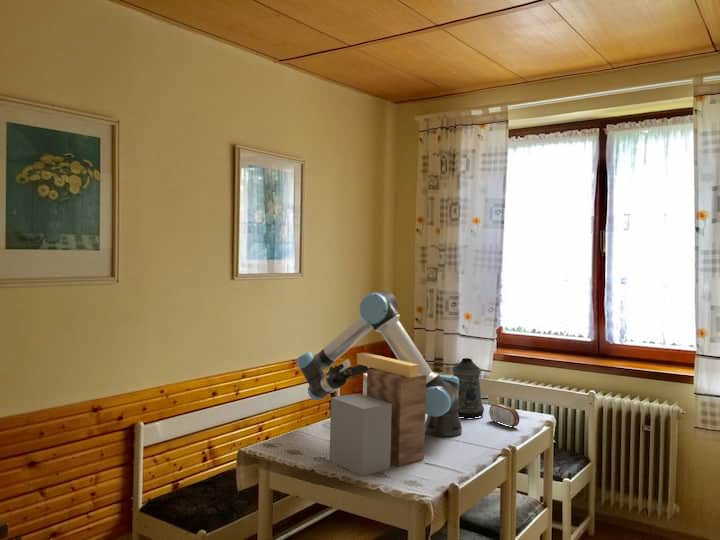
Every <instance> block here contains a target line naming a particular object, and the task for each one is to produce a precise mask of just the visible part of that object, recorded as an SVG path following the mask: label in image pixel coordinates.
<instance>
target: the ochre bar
mask: <svg viewBox="0 0 720 540" xmlns="http://www.w3.org/2000/svg"><path fill="white" fill-rule="evenodd" d="M356 355H357V356H356V365H364V366H367V367H371V368H373V369H379V370H383V371H387V372H391V373H394V374H398V375H402V376H406V377H417V376H418V369H419V365H418V364H413V363H409V362H405V361H400V360H398V359H397V358H396V359H395V358H391V357H386V356H382V355H379V354H378V355H377V354H373V353H369V352H358V353H356Z"/></svg>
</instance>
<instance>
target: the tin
mask: <svg viewBox="0 0 720 540" xmlns="http://www.w3.org/2000/svg"><path fill="white" fill-rule="evenodd" d="M488 411H489V417H490V419H491V421H492V420H493V421H496V422H500V423H503V424H506V425H509V426H512V427H511V428H515V427H514V426H516V427H517V426H518V425H519V424H520V415H519V412H518V411H517V409H515V408H514V407H512V406H508V405H505V404H502V403H499V402H497V403H494V404H492V405H491V406H490V407H489V410H488ZM493 421H492V422H493Z"/></svg>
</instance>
